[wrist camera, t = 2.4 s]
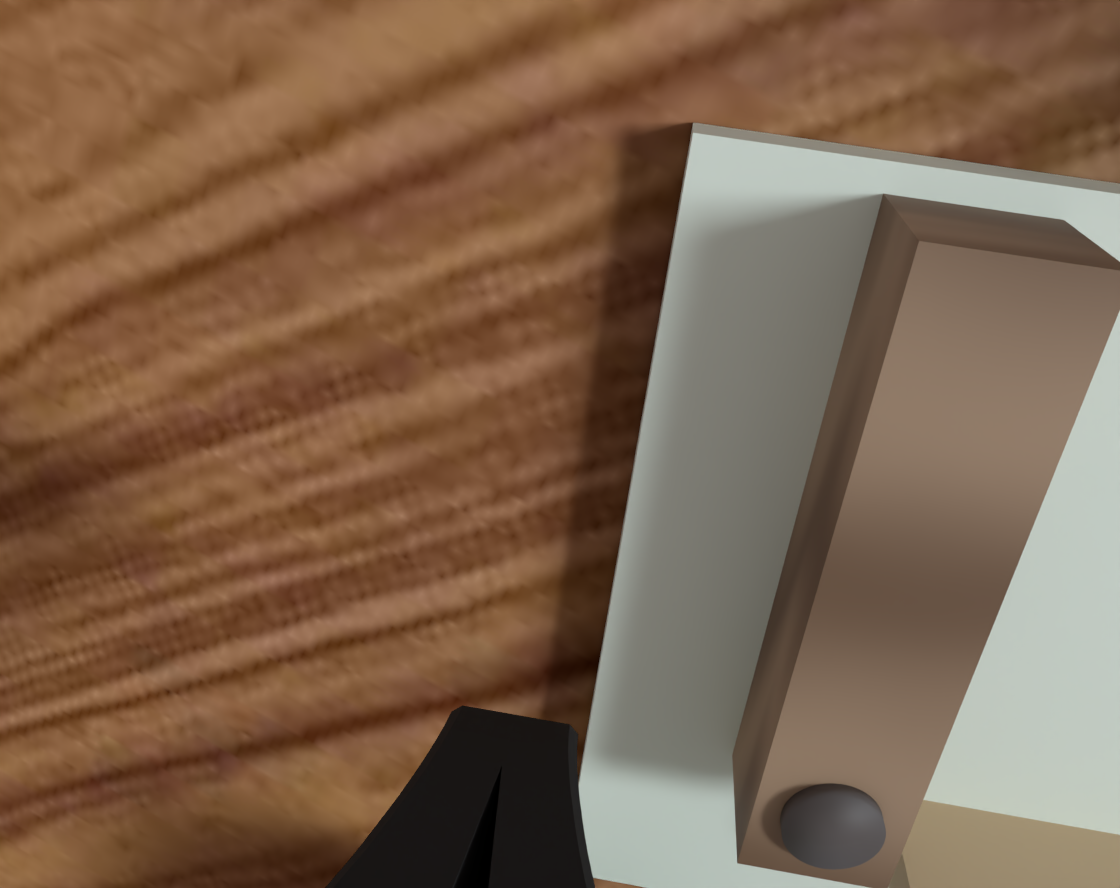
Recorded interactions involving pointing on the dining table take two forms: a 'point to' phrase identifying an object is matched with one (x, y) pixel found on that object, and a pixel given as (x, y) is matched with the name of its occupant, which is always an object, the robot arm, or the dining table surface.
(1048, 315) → the folding leg
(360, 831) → the dining table surface
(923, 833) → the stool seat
